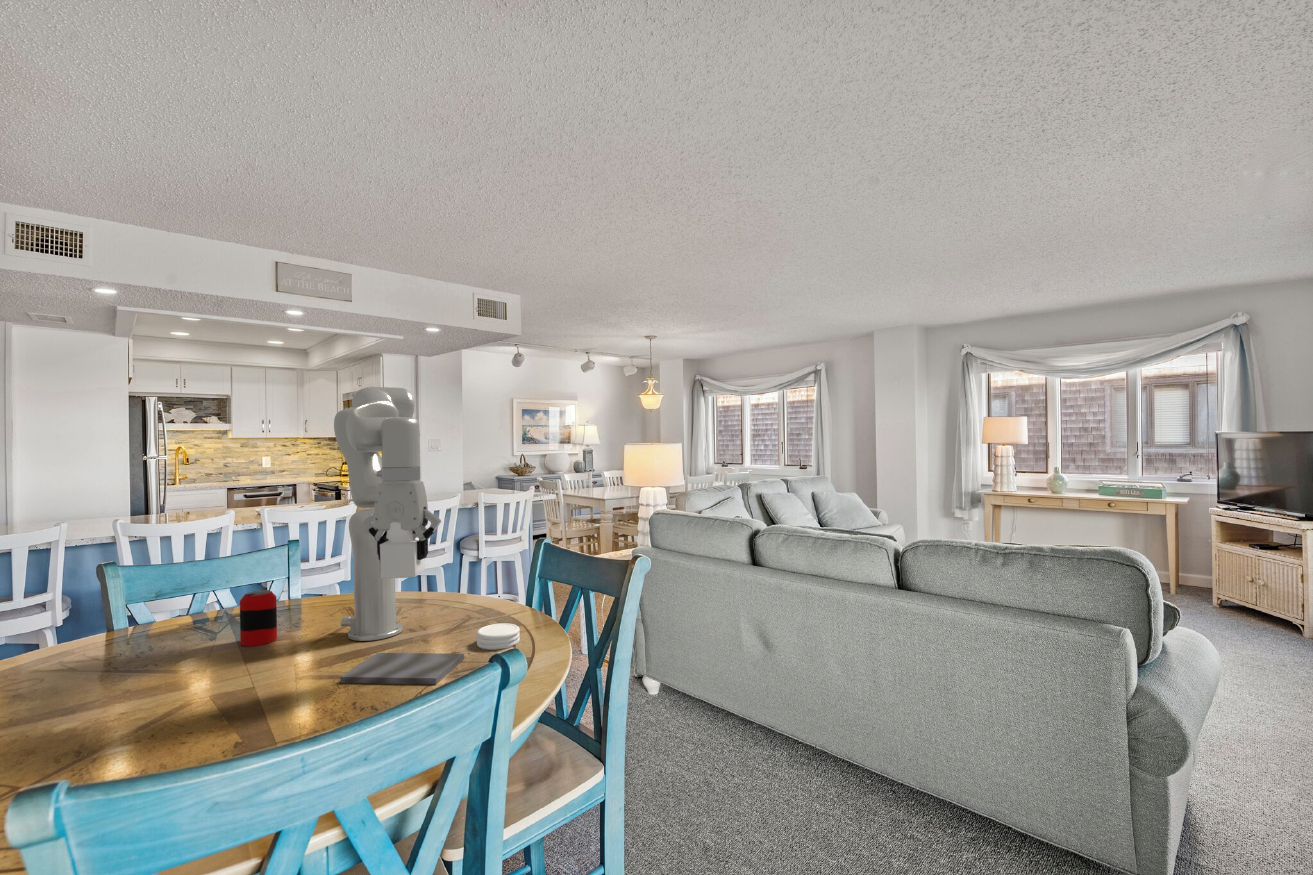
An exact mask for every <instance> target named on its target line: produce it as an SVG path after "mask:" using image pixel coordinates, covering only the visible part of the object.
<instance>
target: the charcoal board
mask: <svg viewBox="0 0 1313 875" xmlns="http://www.w3.org/2000/svg"><path fill="white" fill-rule="evenodd" d="M464 659H465V653H448V652H446V653H444V652H442V653H441V652H440V653H438V652H437V653H435V652H433V653H430V652H425V653H424V652H376V653H375V654H373V655H372V656H370V657H369V658H367V659H365V660H364V661H363V662H361V663H359V664H358V665H357V666H355V667H353V668H352V669H350V670H349V671H347V672H345V673H344V674H342V675H340V677H339V678H340V679H339V680H340V683H341V684H383V685H384V684H388V685H389V684H391V685H392V684H394V685H395V684H396V685H437V684H438V683H440V682H441V680H442V679H444V678H445V677H446V676H448V674H449V673H451V672H452V671H453V670H454V669H455V668H456V667H457V666H458V665H459V664H460V663H462V662H463V661H464Z"/></svg>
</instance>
